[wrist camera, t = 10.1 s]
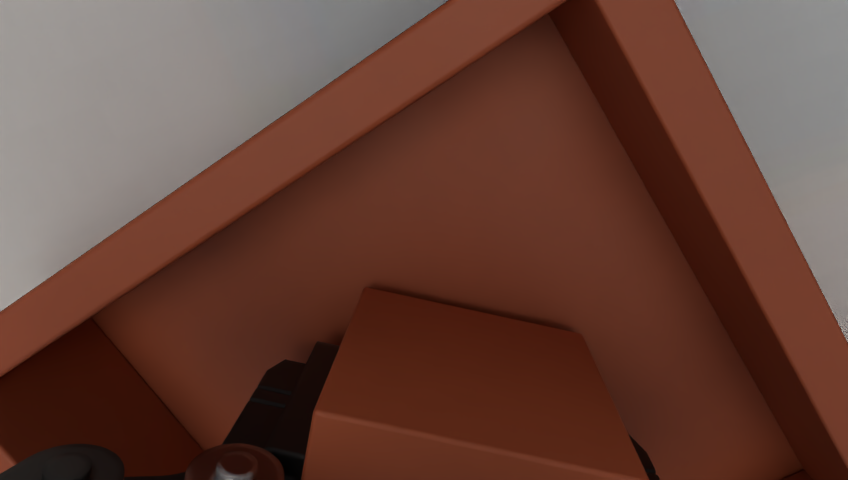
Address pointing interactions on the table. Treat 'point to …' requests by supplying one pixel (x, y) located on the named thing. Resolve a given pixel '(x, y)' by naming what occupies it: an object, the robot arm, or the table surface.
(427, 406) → the terracotta block
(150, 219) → the terracotta bin
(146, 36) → the table surface
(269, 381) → the robot arm
